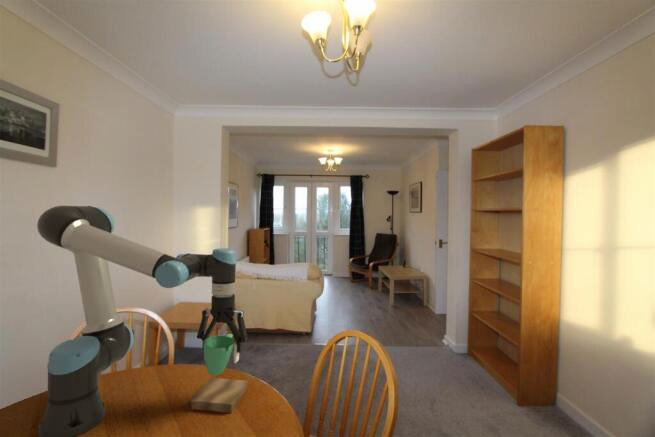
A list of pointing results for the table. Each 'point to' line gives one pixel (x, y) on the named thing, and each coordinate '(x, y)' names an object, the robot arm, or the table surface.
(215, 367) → the mug
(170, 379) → the table surface
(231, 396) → the walnut board
